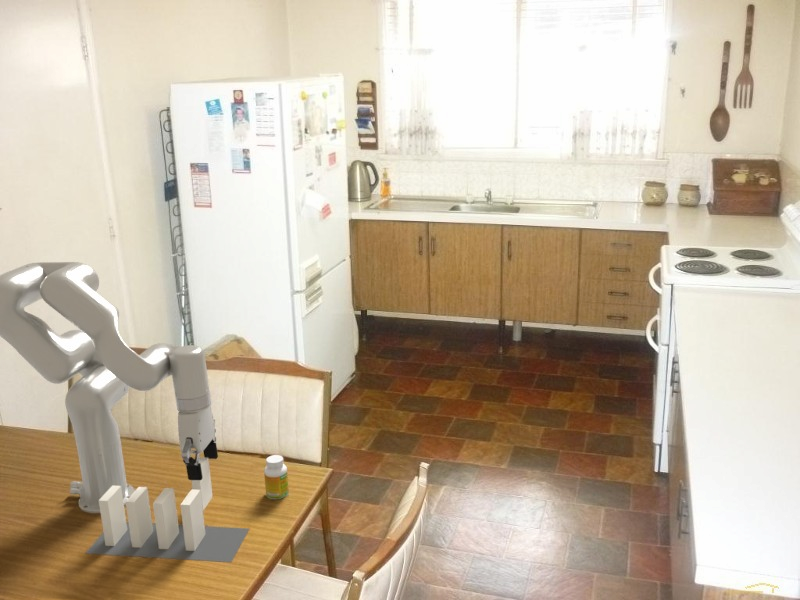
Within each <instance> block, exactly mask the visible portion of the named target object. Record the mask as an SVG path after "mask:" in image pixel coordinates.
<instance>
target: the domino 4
mask: <svg viewBox="0 0 800 600" xmlns="http://www.w3.org/2000/svg"><path fill="white" fill-rule="evenodd" d="M199 463H200V464H201V470H202V477H203V478H202V480H190V481H191V488H192V489H195V490H201V499H202V508H203V511H204V510H205V509H206V507H207V506H208V505H209V503H210V501H211V500H212V498H213V487H212V480H211V479H212V478H211V471H210V469H211V468H210V459H208V458H207V457H204V456H201V457H200V456H199Z"/></svg>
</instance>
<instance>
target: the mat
mask: <svg viewBox="0 0 800 600" xmlns="http://www.w3.org/2000/svg"><path fill="white" fill-rule="evenodd" d="M126 523H127V531H126V532H125V534H124V535H123V536H122V537H121V539H120V540H119V541H118V542H117V544H116V545H115V546H106V545H105V538H104V532H103V531H102V533H101V534H100V535H99V537H98V538H97V539H96V540H95V541H94V542H93V543H92V545H91V546H90V547H89V548H88V549H87V551H85V554H87V555H88V554H89V555H105V556H107V555H108V556H121V557H123V556H124V557H136V558H137V557H138V558H154V559H168V560H169V559H171V560H185V561H186V560H187V561H202V562H219V563H221V562H222V563H232V562H233V560H234V559H235V556H236V554H237V553H238V551H239V549H240V547H241V546H242V544H243V541H244V539H246V537H247V535H248V533H249V531H250V528H249V527H248V528H246V527H244V528H243V527H230V526H229V527H225V526H208V525H206V526H205V525H204V526H205V536H204V537H203V539H202V541H201V542H200V544H199V545H198V547H197V548H196V550H195V551H188V550H186V547H185V539H184V530H183V524H178V527H179V534H178V535H177V537H176V538H175V540H174V541H173V543H172V544H171V545H170V547H169V548H168V549H159V546H158V538H157V531H156V523H155V522H152V526H153V532H152V534H151V535H150V536H149V538H148V539H147V540H146V542H145V543H144V544H143V546H142V547H141V548H138V547H132V543H131V536H130V529H129V522H128V521H126Z"/></svg>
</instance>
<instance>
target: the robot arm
mask: <svg viewBox="0 0 800 600" xmlns="http://www.w3.org/2000/svg"><path fill="white" fill-rule="evenodd" d="M99 287H100V277H99V276H98V274H97V272H96V271H95V270H94V268H93V267H91V266H90V265H89V264H86V263H83V262H80V261H79V262H78V261H77V262H76V261H62V262H61V261H59V262H57V261H55V262H54V261H51V262H50V261H49V262H48V261H47V262H45V261H42V262H32V263H30V262H29V263H26V264H24V265H22V266H19V267H16V268H15V269H12V270H9V271H7V272H4V273H2V274H0V338H2V339H3V340H4V341H5V342H7V343H8V344H9V345H10V346H12V348H13V349H15V351H16V352H17V353H18V354H19V355H21V357H22V358H23V359H24V360H25V361H26V362H27V363H28V364H29V365H30V366H31V367H32V368H33V369H34V370H35V371H36V372H37V373H39V374H40V375H41V376H42V377H43V379H45V380H46V381H47V382H49V383H52V384H55V385H56V384H57V385H58V384H62V383H65V382H67V381H69V380H71V379H72V378H74V377H75V376H76V375H78V374H80V375H81V376H82V377H81V378H79V379H78V380H76V382H74V383H73V384H72V385H71V387H70V388H69V389H68V391H67V393H66V395H65V399H64V403H65V409H66V413H67V415H68V417H69V420H70V422H71V423H70V424H71V425H72V429H73V433H74V434H73V435H74V439H75V444H76V449H77V455H78V461H79V469H80V475H81V480H82V481H79V480H78V481H74V480H72V481H71V482H70V485H69V487H70V490H69V493H70V495H79V496H80V498H79V499H78V507H79V508H80V510H82V511H83V512H86V513H88V514H101V513H100V506H99V499H100V498H101V497H102V496H103V495H104V494H105V493H106V492H107V491H108V490H109V489H110V488H111V486H112V485H113V486H121V489H122V496H123V502H124V507H125V506H126V501H127V500H128V498H129V497H130V496H131V495H132V494H133V493H134V491H135V490H136V489H135V487H134V486H133V485H131V484H129V483H127V476H126V469H125V462H124V456H123V448H122V442H121V441H122V440H121V435H120V428H119V425H118V422H117V420H116V418H114V416H113V413H112V408H113V407H115V406H116V405H117V403H118V402H120V401H121V400H122V399H123V398H124V397H125V396H126V395H127V394H128V393H129V390H130V389H131V388H132V389H134V390H137V391H142V392H145V391H146V392H147V391H151V390H153V389H155V388H156V387H157V386H158V385H159V384H161V383H162V382H163V381H164V380H165V379H167V378H168V377H172V385H173V390H174V391H173V392H174V396H175V397H174V398H175V403H176V410H177V411H178V413H177V429H178V441H179V443H178V444H179V449H180V453H181V458H182V461H183V463H184V466H185V468H186V473H187V479H188V480H189V481H191V480H202V478H203V477H202V470H201V464H200V463H199V458H200V455H201V453H203V457H207V458H208V459H209V460H217V459H218V458H219V454H218V448H217V447H218V446H217V437H216V436H215V435H216V430H217V429H216V419H214V414H213V411H212V398H211V390H210V384H209V377H208V370H207V369H208V368H207V363H206V361H207V360H206V355H205V351H204V349H203V348H202V347H201V346H199V345H192V344H191V345H188V344H187V345H183V346H181V345H173V344H168V343H162V342H161V343H160V342H159V343H154V344H152V345H150V346H149V347H148V348H146V349H145V350H144V351H143V352H141V353H140V354H138V353H137V352H136V351H134V350H133V349H131V348H130V346H128V345H127V343H126V342H125V340H124V339H122V336H121V334H120V332H119V326H118V325H119V317H120V312H119V309H118V308H117V307H116V306H115V305H113V304H112V303H111V302H110V301H108V300H107V299H106V298H105V297H104V296H102V295H101V294H100V293H98V292H97V291H98V289H99ZM40 300H43V301H44V302H45V303H46V304H47V305H48V306H49V307H50V308H51V309H53V310H54V311H56V312H57V313H58V314H59V315H61V316H62V317H63V318H65V319H66V320H67V321H69V322H70V323H71V324H72V325H73V326H75V327H76V328H78V329H73V330H72V329H71V330H68V331H66V332H64V333H62V334H58V333H57V332H55V330H54V329H52V328H51V327H50V325H49V324H47V322H46V321H44V320H43V319H42V318H40V317H39V316H36V315H34V314H32V313H29V312H27V311H26V310H25V308H26V307H27V306H30V305H32V304H34V303H35V302H38V301H40ZM193 449H195V450H193ZM191 455H194V457H192V456H191Z"/></svg>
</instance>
